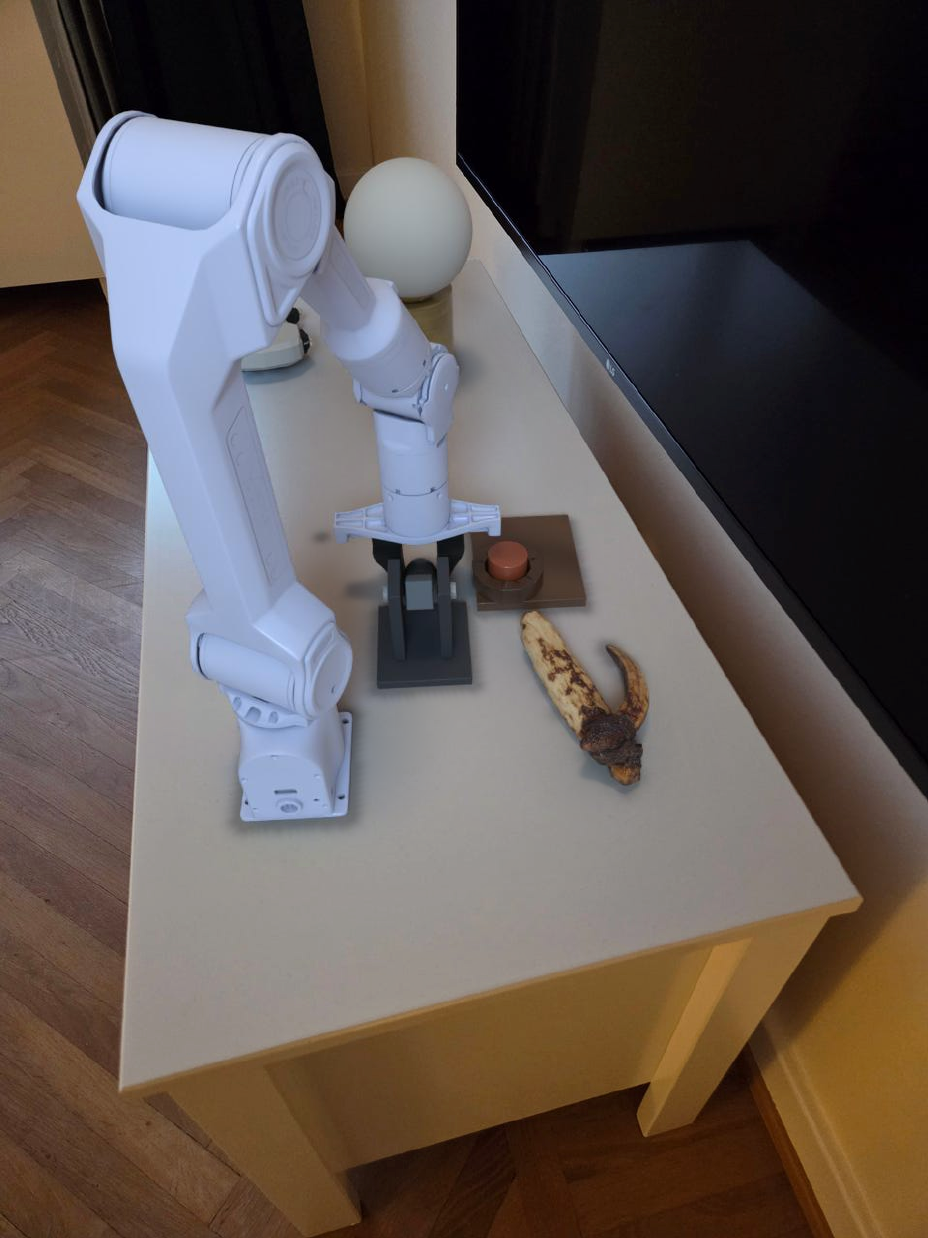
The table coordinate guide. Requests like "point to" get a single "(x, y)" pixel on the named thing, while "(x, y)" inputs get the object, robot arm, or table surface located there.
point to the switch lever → (420, 584)
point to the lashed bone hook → (590, 699)
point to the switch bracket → (422, 636)
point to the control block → (530, 566)
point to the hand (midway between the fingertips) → (422, 590)
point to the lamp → (412, 237)
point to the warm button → (507, 561)
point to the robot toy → (281, 347)
